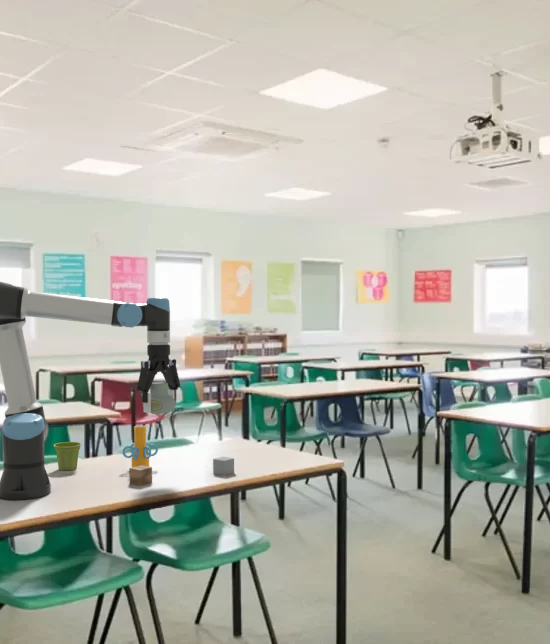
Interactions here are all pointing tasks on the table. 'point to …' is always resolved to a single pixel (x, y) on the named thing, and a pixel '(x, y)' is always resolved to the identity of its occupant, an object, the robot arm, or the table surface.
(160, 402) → the air freshener
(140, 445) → the cylinder
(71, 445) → the plant pot
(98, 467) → the table surface
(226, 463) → the grey block
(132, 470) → the walnut block
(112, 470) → the table surface
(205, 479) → the table surface
